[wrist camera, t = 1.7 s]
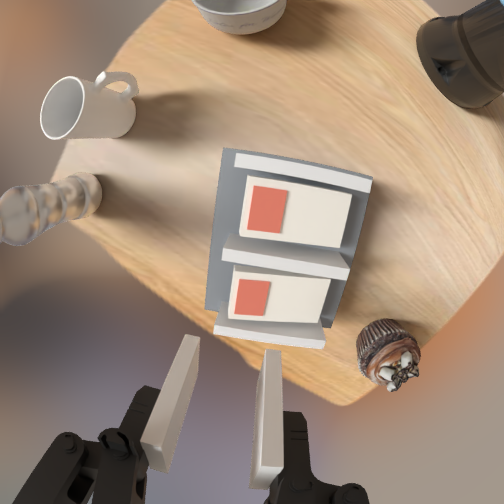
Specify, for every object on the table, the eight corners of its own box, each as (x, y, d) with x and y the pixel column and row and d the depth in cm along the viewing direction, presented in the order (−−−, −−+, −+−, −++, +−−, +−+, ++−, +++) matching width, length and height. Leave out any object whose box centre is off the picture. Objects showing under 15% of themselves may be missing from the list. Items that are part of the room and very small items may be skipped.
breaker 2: (326, 273, 29) (331, 280, 27) (313, 315, 31) (318, 323, 29) (234, 264, 27) (235, 272, 26) (227, 310, 29) (228, 319, 28)
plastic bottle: (112, 208, 34) (5, 258, 15) (79, 218, 35) (-20, 267, 16) (102, 164, 32) (-12, 186, 13) (70, 178, 33) (-35, 207, 14)
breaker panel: (358, 173, 31) (392, 181, 21) (324, 308, 37) (338, 353, 28) (230, 149, 31) (213, 145, 22) (212, 290, 37) (194, 332, 28)
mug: (108, 149, 31) (49, 152, 20) (92, 112, 30) (34, 106, 18) (166, 107, 29) (119, 88, 18) (147, 70, 28) (99, 42, 16)
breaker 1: (345, 192, 26) (353, 194, 24) (333, 243, 28) (340, 248, 26) (247, 174, 24) (249, 176, 23) (239, 231, 26) (240, 236, 25)
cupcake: (383, 302, 37) (410, 342, 27) (413, 331, 38) (438, 369, 29) (339, 344, 39) (353, 390, 30) (373, 367, 41) (389, 409, 32)
